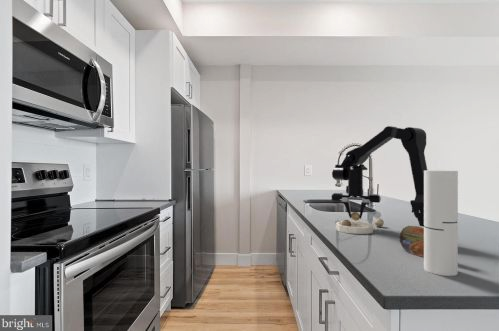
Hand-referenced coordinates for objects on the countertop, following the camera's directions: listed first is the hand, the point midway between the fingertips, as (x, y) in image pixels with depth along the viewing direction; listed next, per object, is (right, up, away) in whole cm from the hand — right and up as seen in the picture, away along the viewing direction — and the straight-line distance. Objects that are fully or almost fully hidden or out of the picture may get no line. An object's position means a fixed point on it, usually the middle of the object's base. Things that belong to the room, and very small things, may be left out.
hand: (355, 218), depth 127 cm
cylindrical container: (+4, -5, -51) cm, 51 cm away
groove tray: (-2, -4, -4) cm, 6 cm away
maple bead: (+11, -2, +3) cm, 12 cm away
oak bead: (0, +1, 0) cm, 1 cm away
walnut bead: (-5, -2, -5) cm, 8 cm away
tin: (+7, -5, -39) cm, 40 cm away
